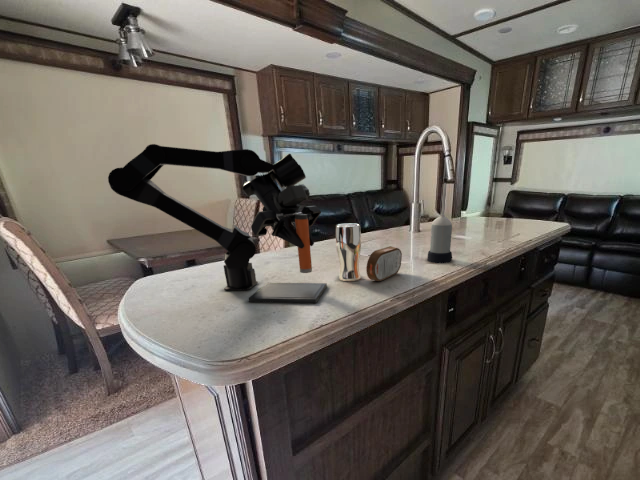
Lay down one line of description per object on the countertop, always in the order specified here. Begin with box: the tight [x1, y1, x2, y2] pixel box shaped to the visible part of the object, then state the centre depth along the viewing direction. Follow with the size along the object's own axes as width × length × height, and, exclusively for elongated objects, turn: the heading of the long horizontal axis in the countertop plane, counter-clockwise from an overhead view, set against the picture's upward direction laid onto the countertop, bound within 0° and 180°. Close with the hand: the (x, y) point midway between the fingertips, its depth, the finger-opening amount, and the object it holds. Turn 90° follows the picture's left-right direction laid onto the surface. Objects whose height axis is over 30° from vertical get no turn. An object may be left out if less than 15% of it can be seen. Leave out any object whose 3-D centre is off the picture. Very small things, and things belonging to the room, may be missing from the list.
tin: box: [365, 245, 403, 282], centre depth 89 cm, size 15×3×8 cm, turn 144°
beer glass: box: [335, 222, 362, 282], centre depth 88 cm, size 7×7×15 cm
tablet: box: [248, 282, 328, 304], centre depth 78 cm, size 16×12×1 cm
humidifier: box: [427, 182, 453, 264], centre depth 104 cm, size 8×8×25 cm
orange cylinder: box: [295, 214, 313, 274], centre depth 77 cm, size 3×3×14 cm
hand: (307, 246), depth 77 cm, fingers closed on orange cylinder, 3 cm apart
